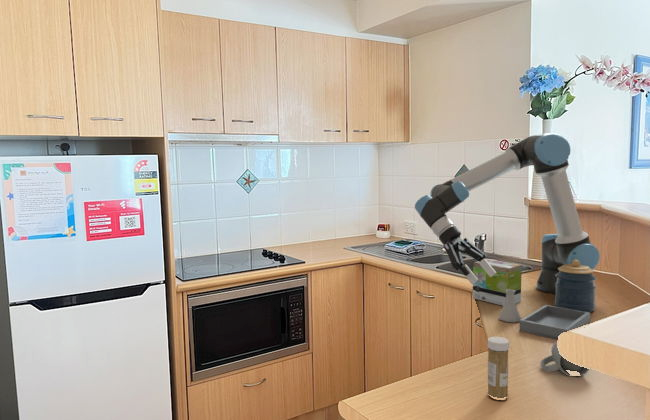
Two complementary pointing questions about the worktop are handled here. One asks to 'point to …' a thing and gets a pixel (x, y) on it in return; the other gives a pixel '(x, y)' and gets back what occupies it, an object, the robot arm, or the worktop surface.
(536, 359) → the worktop surface
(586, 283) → the canister
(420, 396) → the worktop surface
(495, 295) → the tea box
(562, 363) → the ceramic mug
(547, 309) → the charcoal tray
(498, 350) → the sprinkles bottle
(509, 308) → the flask
